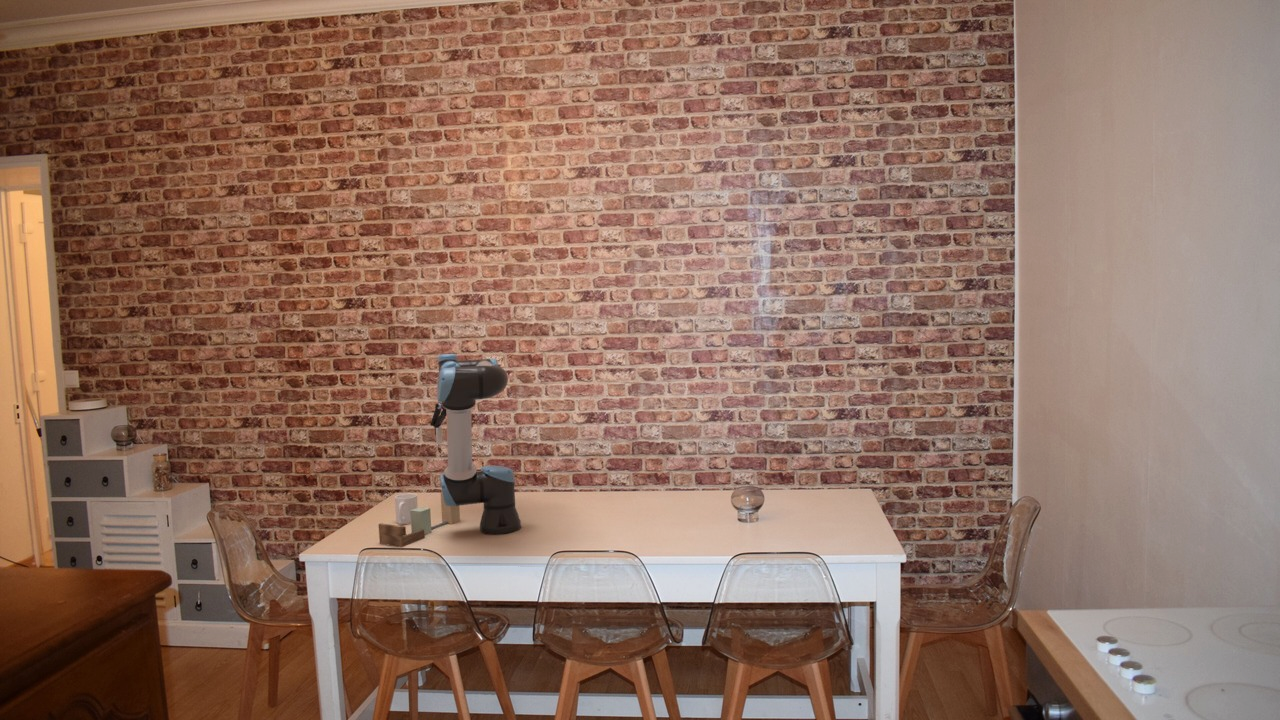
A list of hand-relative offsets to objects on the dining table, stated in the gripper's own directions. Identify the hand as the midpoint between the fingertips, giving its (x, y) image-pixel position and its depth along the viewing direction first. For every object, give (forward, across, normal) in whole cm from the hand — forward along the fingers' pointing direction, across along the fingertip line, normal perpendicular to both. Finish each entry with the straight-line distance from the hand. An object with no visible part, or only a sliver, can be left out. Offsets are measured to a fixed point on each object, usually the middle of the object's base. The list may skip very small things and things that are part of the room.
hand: (452, 444), depth 335 cm
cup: (+27, +5, +23) cm, 36 cm away
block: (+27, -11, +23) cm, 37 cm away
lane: (+27, -11, +41) cm, 50 cm away
